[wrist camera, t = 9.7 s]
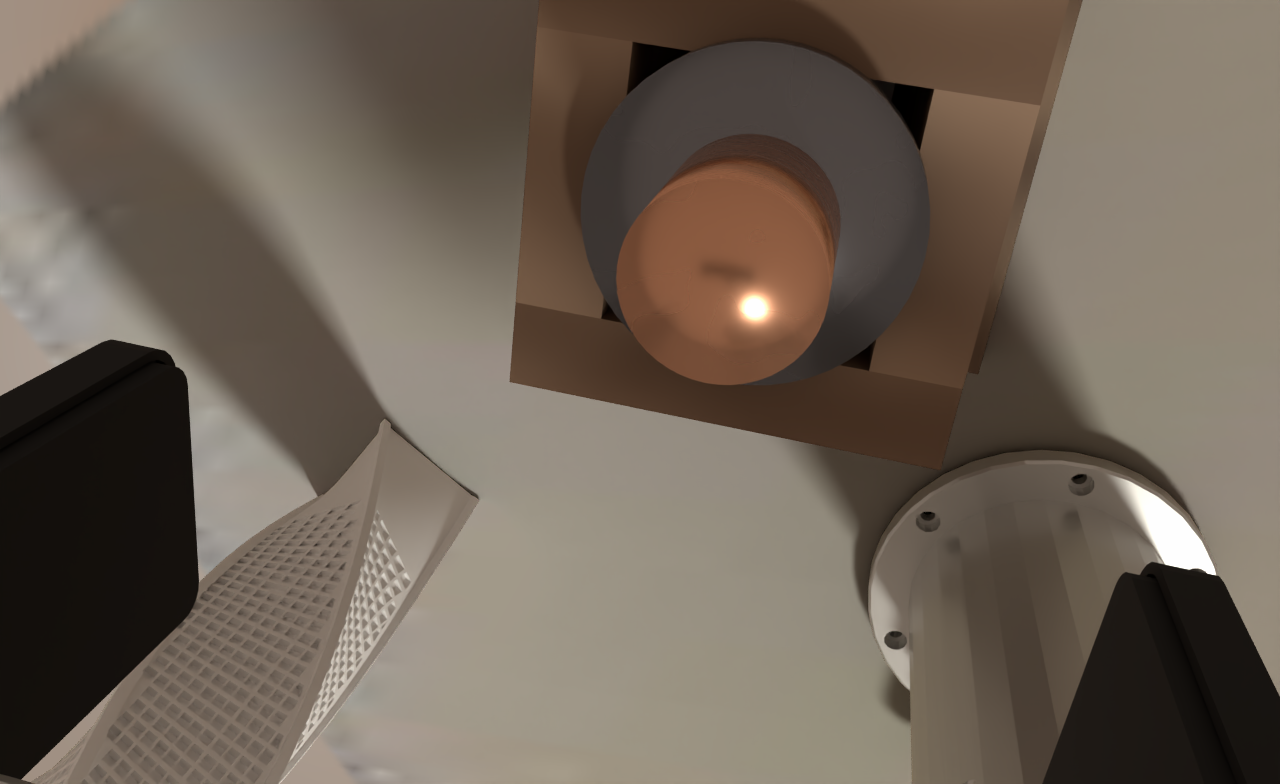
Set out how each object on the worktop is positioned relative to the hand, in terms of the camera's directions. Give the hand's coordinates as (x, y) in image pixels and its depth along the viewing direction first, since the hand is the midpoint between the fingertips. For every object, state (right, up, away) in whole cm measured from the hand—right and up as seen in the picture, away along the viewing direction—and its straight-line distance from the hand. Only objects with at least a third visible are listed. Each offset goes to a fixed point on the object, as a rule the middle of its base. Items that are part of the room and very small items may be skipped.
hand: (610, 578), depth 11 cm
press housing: (+6, +12, +26) cm, 29 cm away
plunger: (+5, +11, +24) cm, 27 cm away
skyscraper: (-10, -3, +36) cm, 37 cm away
